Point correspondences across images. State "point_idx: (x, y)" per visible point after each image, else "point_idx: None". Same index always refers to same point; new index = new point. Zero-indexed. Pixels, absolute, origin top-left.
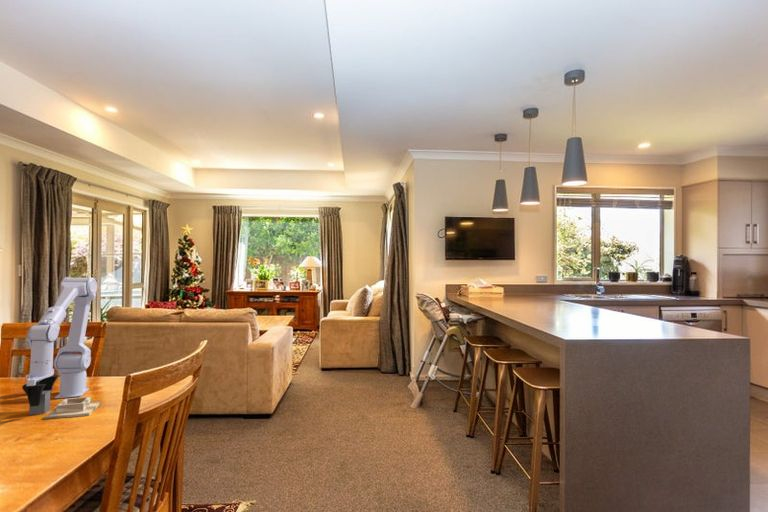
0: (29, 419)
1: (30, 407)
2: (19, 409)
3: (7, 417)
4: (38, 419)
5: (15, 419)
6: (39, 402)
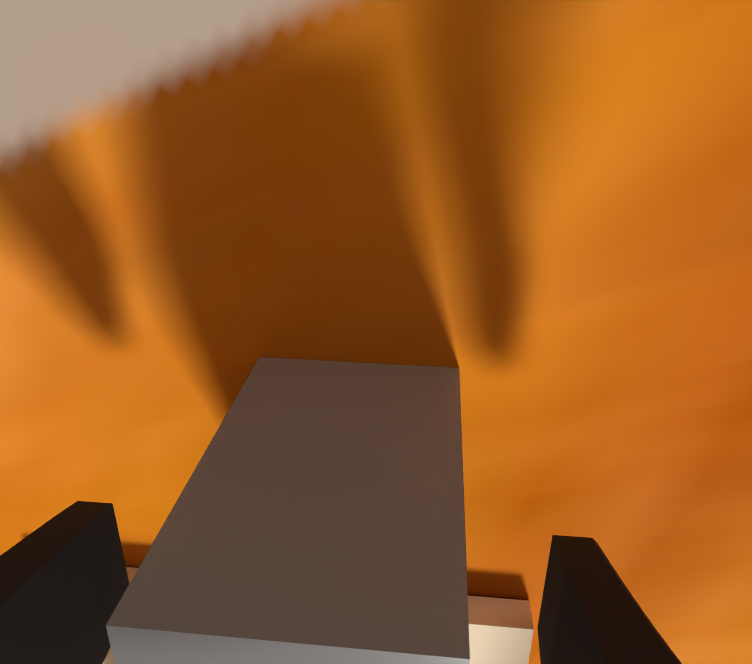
0: (71, 418)
1: (219, 438)
2: (683, 74)
3: (218, 66)
4: (59, 508)
5: (94, 242)
6: (92, 648)
